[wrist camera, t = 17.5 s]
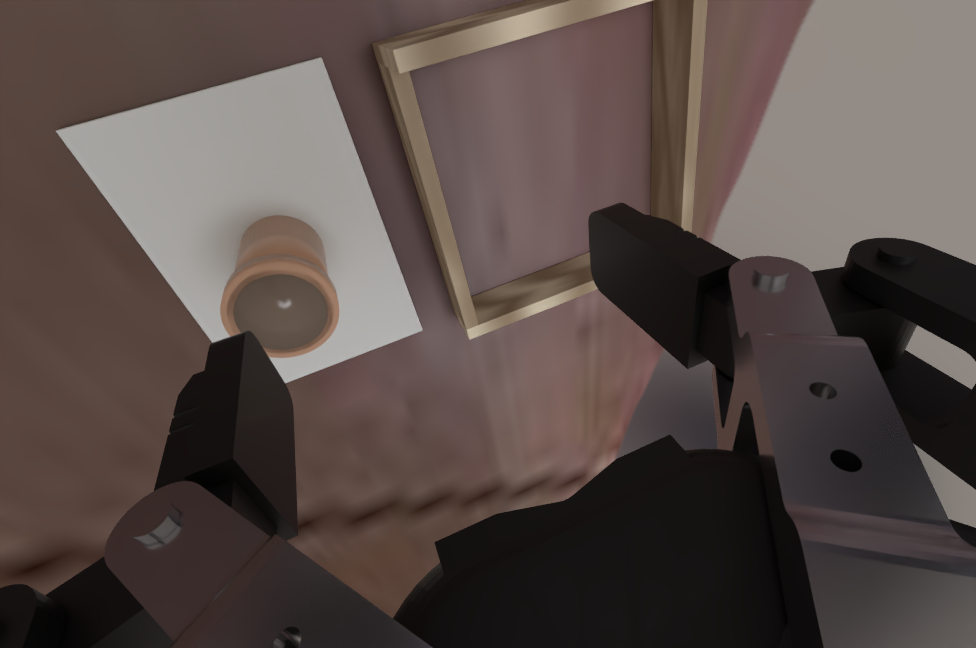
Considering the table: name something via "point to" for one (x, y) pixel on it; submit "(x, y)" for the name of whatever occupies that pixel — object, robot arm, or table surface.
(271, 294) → the terracotta pot
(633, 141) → the table surface
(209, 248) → the grey mat
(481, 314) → the frame
